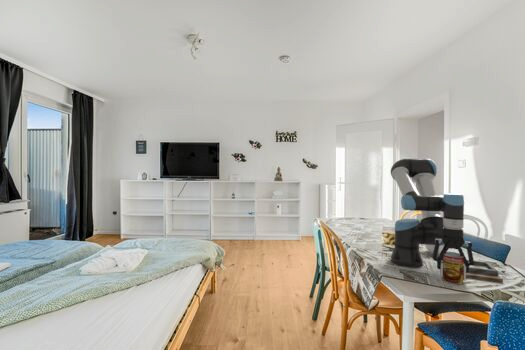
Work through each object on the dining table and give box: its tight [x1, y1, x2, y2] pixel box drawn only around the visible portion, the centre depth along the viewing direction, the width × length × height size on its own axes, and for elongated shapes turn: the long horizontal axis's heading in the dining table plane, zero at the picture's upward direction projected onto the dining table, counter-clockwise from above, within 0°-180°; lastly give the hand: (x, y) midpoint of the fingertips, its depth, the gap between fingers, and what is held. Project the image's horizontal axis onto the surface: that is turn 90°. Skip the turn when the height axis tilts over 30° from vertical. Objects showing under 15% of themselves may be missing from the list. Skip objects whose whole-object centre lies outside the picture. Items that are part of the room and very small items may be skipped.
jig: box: [464, 259, 504, 283], centre depth 128 cm, size 18×18×4 cm
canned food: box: [441, 251, 464, 285], centre depth 118 cm, size 8×8×12 cm
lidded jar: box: [424, 244, 444, 255], centre depth 159 cm, size 11×11×9 cm
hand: (452, 277), depth 119 cm, fingers closed on canned food, 8 cm apart
